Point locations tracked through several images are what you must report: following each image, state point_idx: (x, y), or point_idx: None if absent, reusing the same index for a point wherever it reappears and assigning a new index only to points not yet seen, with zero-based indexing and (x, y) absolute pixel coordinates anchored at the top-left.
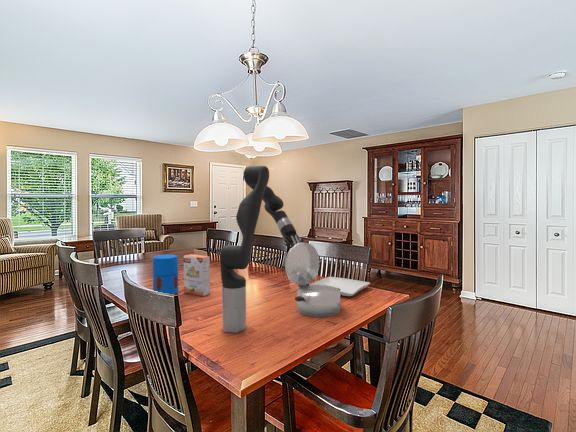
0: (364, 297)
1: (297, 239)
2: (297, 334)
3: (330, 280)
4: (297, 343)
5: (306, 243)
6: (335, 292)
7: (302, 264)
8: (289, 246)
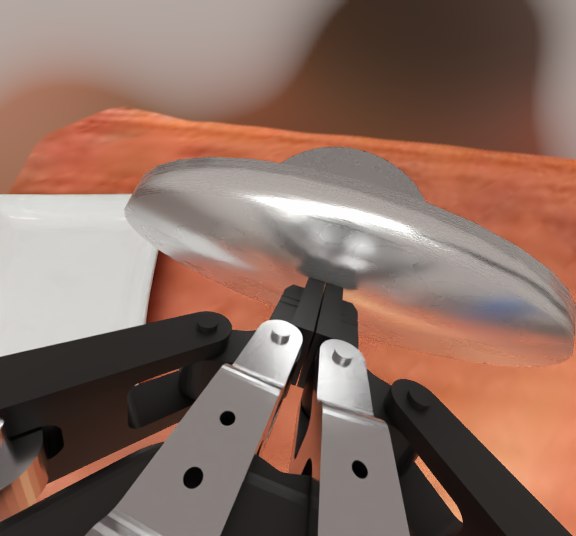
0: (132, 185)
1: (174, 461)
2: (518, 210)
3: None
4: (551, 187)
5: (267, 169)
6: (322, 160)
7: None
8: (429, 512)
